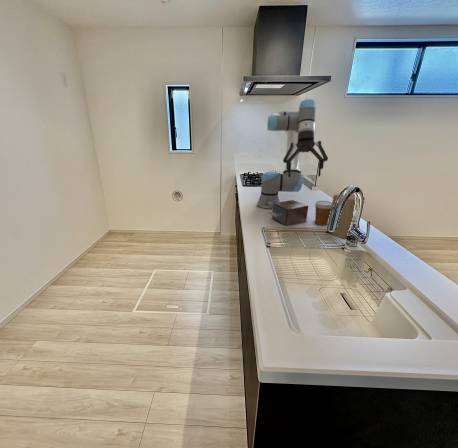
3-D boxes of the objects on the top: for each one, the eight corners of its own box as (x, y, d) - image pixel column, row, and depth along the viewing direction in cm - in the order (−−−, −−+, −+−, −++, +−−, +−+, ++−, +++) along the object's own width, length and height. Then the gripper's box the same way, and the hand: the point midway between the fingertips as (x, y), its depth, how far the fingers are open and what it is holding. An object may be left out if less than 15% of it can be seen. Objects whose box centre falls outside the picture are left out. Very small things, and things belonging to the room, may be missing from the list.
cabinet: (286, 225, 133) (288, 209, 129) (272, 218, 143) (273, 203, 140) (306, 221, 139) (308, 205, 135) (291, 214, 149) (293, 200, 146)
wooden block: (356, 235, 121) (365, 197, 114) (343, 239, 117) (351, 199, 109) (339, 228, 129) (346, 192, 122) (326, 231, 125) (333, 194, 118)
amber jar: (327, 220, 140) (330, 200, 136) (332, 226, 132) (336, 205, 127) (310, 219, 141) (313, 200, 137) (314, 225, 133) (318, 205, 128)
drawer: (277, 225, 131) (278, 212, 128) (264, 219, 140) (265, 206, 137) (302, 220, 138) (304, 207, 135) (289, 214, 148) (290, 202, 145)
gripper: (279, 131, 116) (276, 174, 115) (335, 127, 108) (333, 173, 107) (280, 137, 123) (278, 178, 122) (333, 134, 115) (331, 177, 114)
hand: (304, 176), depth 114 cm, fingers open, 13 cm apart
